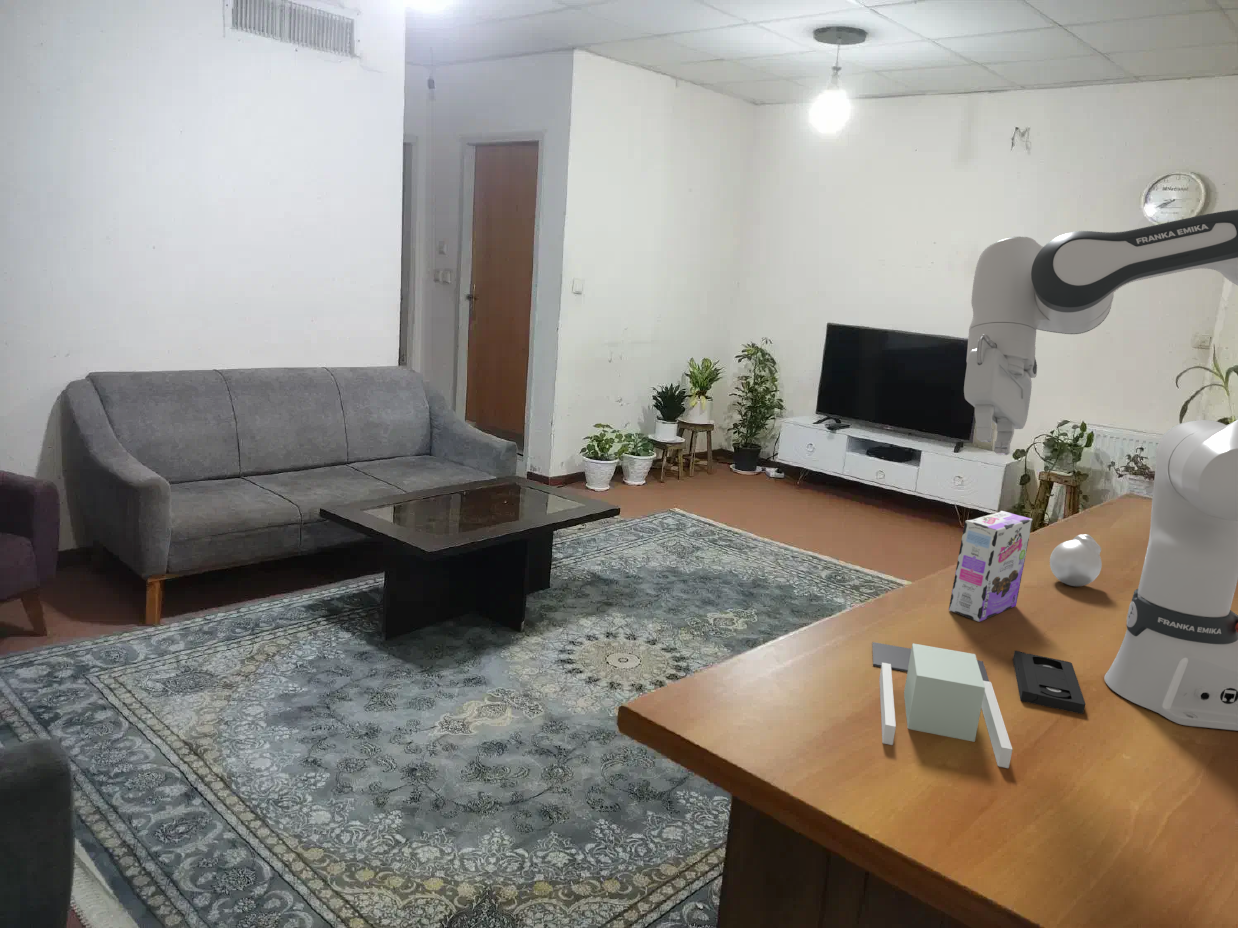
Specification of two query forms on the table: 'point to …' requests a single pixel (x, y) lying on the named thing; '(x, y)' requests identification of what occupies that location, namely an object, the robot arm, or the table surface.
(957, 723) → the sage block
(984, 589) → the candy box
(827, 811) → the table surface
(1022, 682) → the vhs tape
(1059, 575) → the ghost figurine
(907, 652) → the channel
